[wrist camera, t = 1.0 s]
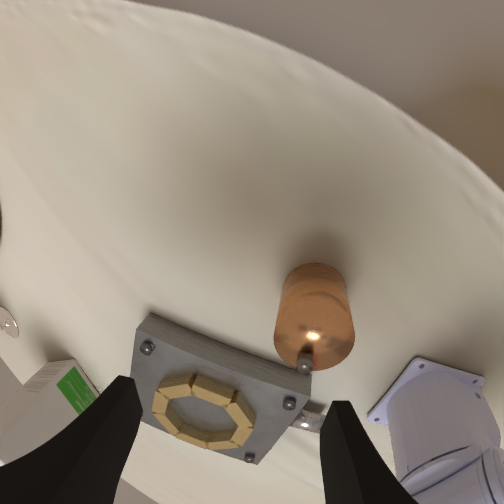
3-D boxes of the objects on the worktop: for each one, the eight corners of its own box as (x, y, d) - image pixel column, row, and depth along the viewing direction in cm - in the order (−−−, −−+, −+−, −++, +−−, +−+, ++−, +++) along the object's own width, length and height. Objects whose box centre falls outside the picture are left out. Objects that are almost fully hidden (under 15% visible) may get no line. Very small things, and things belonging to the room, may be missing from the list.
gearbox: (343, 385, 24) (345, 417, 20) (287, 453, 28) (283, 481, 25) (150, 312, 24) (129, 337, 21) (136, 397, 29) (121, 421, 26)
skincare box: (113, 410, 31) (50, 507, 17) (81, 409, 33) (21, 491, 18) (73, 355, 29) (-12, 450, 14) (44, 358, 31) (-31, 437, 16)
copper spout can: (296, 253, 21) (291, 302, 15) (356, 276, 20) (372, 332, 14) (273, 306, 22) (259, 367, 16) (329, 327, 22) (332, 390, 16)
